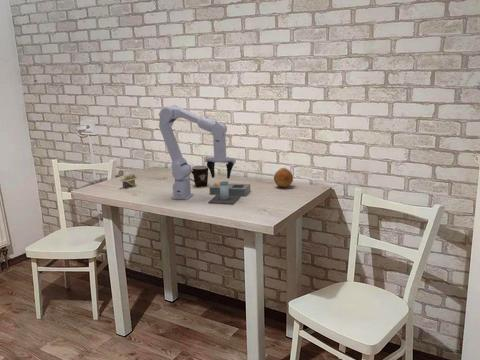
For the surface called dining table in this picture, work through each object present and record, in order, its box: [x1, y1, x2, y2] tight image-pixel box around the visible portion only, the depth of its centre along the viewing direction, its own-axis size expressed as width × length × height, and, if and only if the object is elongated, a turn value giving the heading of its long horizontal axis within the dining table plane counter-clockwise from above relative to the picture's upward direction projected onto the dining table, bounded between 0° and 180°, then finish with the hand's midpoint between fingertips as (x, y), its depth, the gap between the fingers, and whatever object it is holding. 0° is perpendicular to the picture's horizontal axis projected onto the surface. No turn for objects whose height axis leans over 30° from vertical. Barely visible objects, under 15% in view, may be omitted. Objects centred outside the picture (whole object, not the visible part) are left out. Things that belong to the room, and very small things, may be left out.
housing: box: [209, 182, 251, 197], centre depth 227 cm, size 10×18×4 cm, turn 75°
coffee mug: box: [190, 165, 209, 188], centre depth 242 cm, size 12×9×10 cm
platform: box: [119, 174, 138, 189], centre depth 244 cm, size 12×18×7 cm, turn 142°
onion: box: [273, 167, 294, 189], centre depth 233 cm, size 10×10×10 cm
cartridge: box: [219, 181, 229, 200], centre depth 214 cm, size 4×4×8 cm
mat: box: [207, 195, 241, 206], centre depth 215 cm, size 12×12×1 cm
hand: (220, 177), depth 215 cm, fingers open, 7 cm apart
